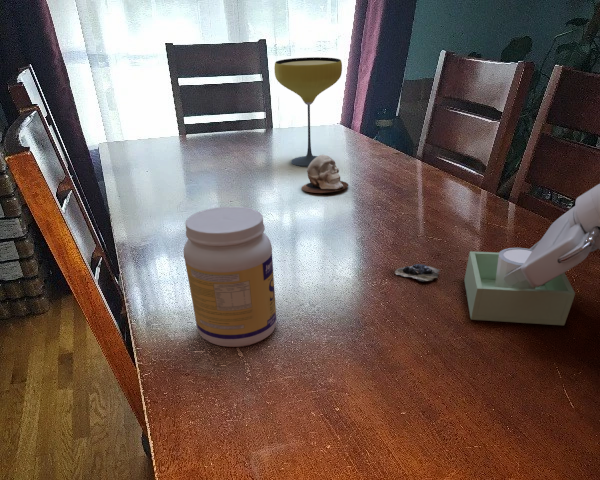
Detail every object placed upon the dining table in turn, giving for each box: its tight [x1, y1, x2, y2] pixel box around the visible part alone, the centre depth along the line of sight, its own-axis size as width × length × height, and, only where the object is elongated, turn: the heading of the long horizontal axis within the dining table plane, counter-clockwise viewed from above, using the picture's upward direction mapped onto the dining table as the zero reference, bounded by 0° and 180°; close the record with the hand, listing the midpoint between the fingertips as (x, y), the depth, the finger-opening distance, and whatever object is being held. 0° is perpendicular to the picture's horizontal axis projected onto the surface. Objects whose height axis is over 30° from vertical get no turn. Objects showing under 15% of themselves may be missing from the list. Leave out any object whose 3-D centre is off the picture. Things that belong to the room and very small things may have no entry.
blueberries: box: [394, 263, 441, 283], centre depth 90 cm, size 7×8×2 cm
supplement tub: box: [183, 205, 278, 348], centre depth 73 cm, size 12×12×17 cm
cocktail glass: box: [273, 56, 343, 168], centre depth 143 cm, size 18×18×25 cm
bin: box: [464, 251, 576, 326], centre depth 81 cm, size 14×14×5 cm
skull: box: [301, 154, 349, 194], centre depth 130 cm, size 12×10×10 cm
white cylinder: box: [495, 247, 535, 289], centre depth 80 cm, size 7×7×7 cm
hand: (514, 270), depth 79 cm, fingers closed on white cylinder, 7 cm apart
